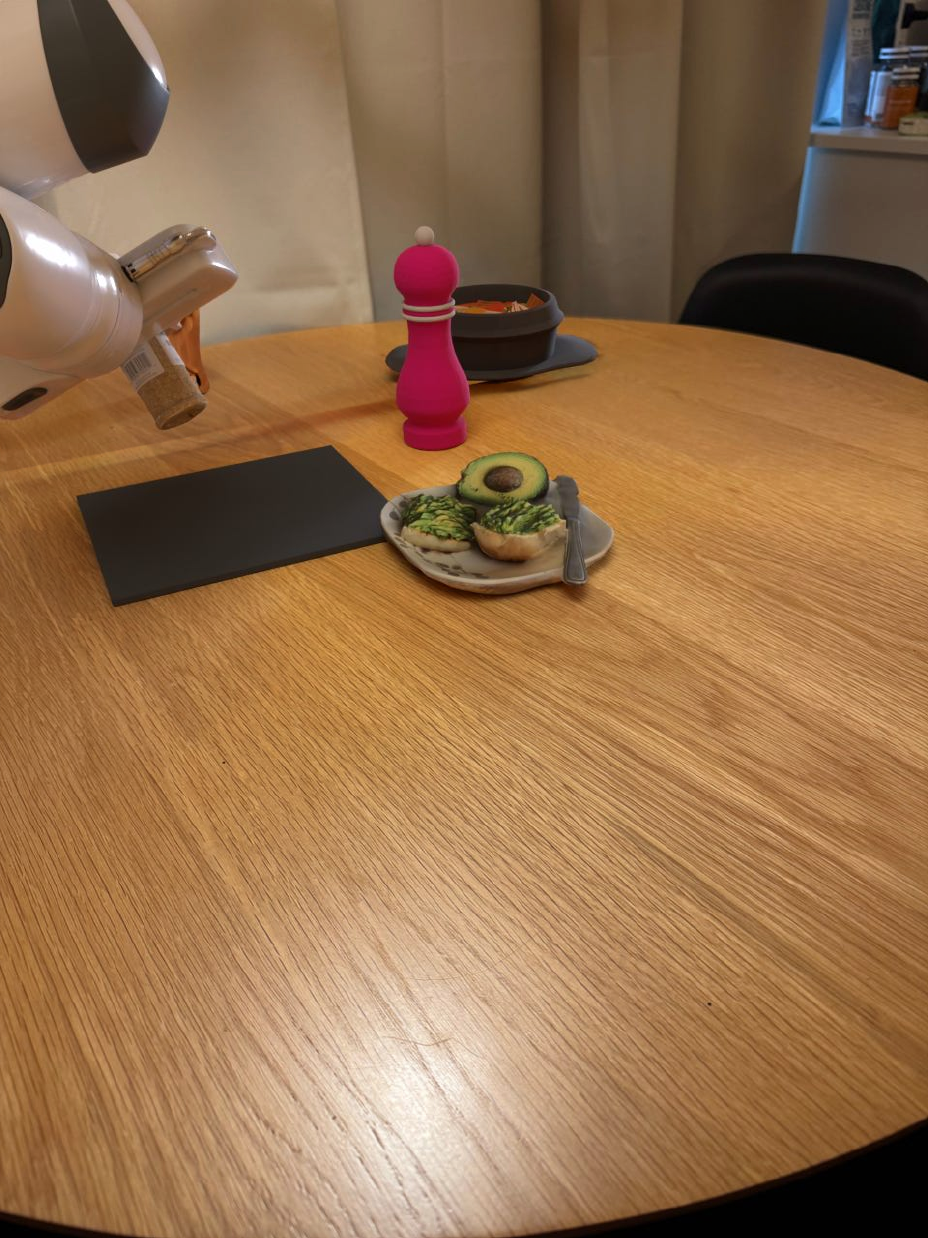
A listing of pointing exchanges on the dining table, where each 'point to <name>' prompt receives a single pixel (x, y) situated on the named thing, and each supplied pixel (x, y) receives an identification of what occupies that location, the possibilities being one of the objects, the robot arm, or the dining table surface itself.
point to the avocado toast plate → (498, 528)
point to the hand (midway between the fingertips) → (139, 341)
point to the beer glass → (191, 349)
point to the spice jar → (163, 382)
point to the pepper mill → (430, 347)
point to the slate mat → (229, 522)
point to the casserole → (507, 334)
